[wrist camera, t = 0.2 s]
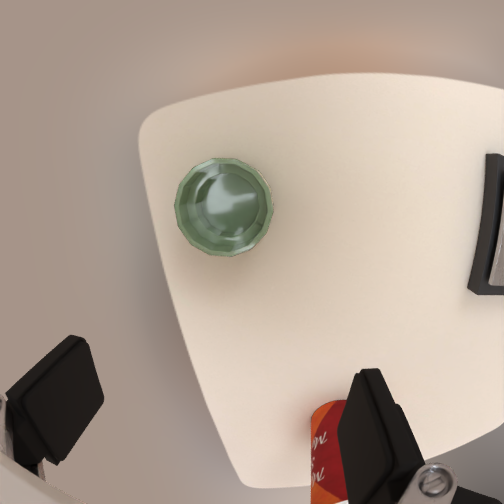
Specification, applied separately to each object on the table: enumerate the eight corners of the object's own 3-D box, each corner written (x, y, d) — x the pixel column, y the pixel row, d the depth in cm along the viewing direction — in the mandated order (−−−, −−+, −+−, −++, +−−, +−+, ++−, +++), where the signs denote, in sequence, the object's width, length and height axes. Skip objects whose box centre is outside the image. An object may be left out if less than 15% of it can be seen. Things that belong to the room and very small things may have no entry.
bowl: (192, 160, 23) (175, 157, 19) (276, 164, 22) (276, 161, 18) (189, 239, 24) (173, 252, 20) (270, 246, 24) (269, 260, 20)
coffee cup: (291, 407, 28) (293, 525, 14) (361, 382, 27) (398, 497, 12) (314, 444, 30) (321, 543, 15) (375, 423, 28) (403, 520, 14)
